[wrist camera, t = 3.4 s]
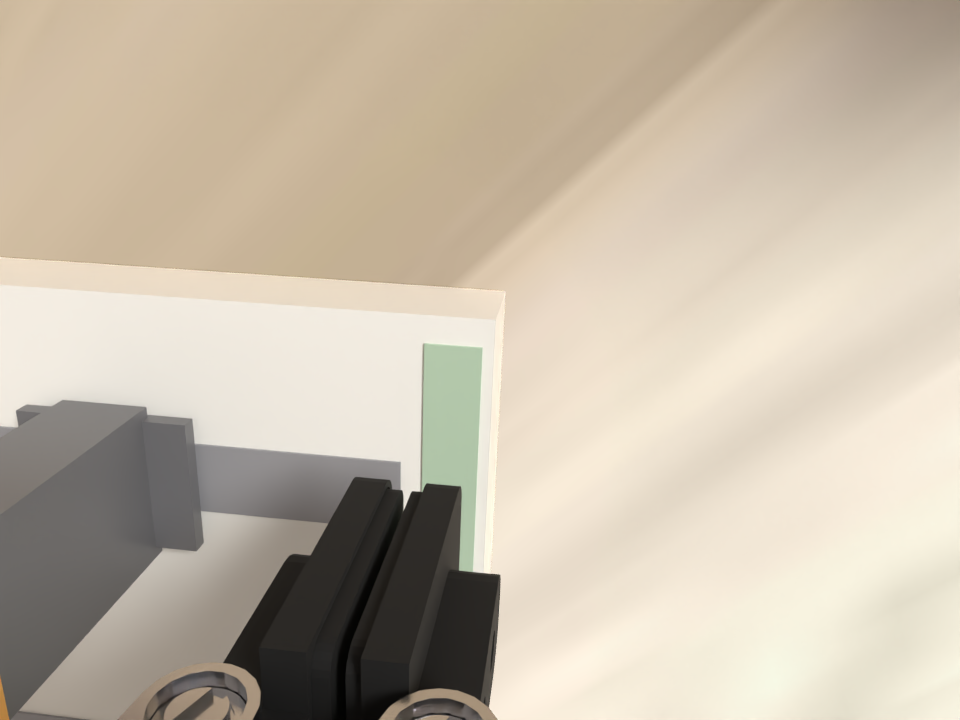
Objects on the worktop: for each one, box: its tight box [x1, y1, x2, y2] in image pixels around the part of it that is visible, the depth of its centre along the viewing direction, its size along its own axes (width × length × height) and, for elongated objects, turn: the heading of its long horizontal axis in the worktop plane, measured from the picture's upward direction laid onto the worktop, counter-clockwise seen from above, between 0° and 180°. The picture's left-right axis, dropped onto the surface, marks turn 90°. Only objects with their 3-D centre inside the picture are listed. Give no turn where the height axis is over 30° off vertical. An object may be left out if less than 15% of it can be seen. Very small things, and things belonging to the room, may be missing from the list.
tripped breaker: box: [0, 400, 204, 720], centre depth 12 cm, size 3×3×5 cm
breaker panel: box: [0, 257, 506, 720], centre depth 18 cm, size 14×21×2 cm, turn 178°
